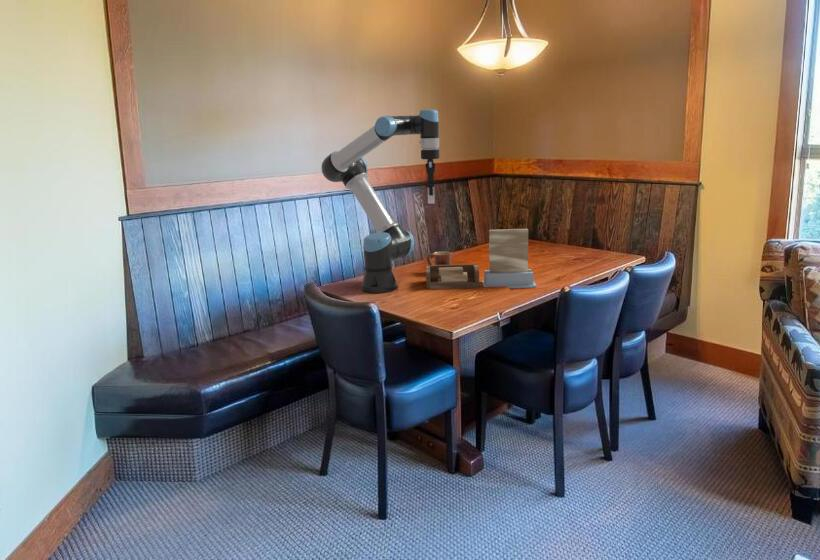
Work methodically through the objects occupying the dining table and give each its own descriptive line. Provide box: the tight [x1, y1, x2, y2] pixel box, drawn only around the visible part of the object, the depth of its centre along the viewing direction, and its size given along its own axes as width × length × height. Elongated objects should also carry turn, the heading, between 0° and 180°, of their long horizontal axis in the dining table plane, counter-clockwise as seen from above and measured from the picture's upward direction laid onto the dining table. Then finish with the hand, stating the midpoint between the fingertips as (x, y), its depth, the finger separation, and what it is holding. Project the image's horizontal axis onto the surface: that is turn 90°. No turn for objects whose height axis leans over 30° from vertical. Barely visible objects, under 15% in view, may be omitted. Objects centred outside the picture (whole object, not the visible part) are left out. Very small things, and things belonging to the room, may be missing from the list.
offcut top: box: [439, 267, 463, 276], centre depth 259 cm, size 5×10×2 cm, turn 91°
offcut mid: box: [441, 272, 468, 282], centre depth 260 cm, size 5×11×2 cm, turn 88°
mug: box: [426, 250, 453, 265], centre depth 283 cm, size 12×9×10 cm
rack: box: [425, 263, 480, 290], centre depth 262 cm, size 14×22×8 cm, turn 88°
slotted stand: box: [481, 268, 537, 289], centre depth 261 cm, size 10×22×6 cm, turn 88°
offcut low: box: [438, 279, 467, 283], centre depth 260 cm, size 5×12×2 cm, turn 88°
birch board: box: [488, 228, 529, 273], centre depth 258 cm, size 2×16×23 cm, turn 88°
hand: (431, 201), depth 254 cm, fingers open, 13 cm apart
